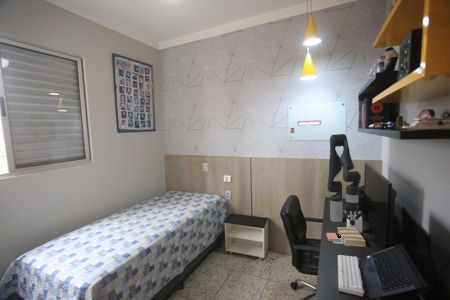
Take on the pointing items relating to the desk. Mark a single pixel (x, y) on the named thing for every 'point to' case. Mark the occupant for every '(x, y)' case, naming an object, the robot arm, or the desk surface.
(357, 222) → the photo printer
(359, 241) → the deck
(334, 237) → the card
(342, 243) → the mat
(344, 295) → the desk surface
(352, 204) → the robot arm
